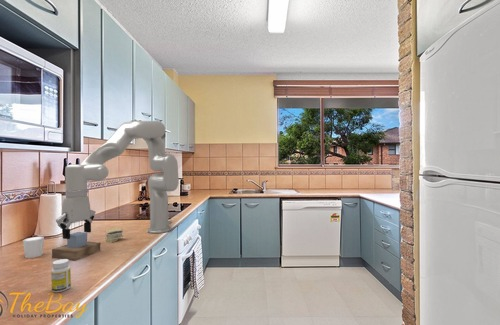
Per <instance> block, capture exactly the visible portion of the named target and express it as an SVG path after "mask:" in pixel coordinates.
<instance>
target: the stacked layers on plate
mask: <svg viewBox="0 0 500 325" xmlns="http://www.w3.org/2000/svg"><path fill="white" fill-rule="evenodd" d="M105 232H107V233H105V241H106V243H110V244H112V243H116V242H118V239H120V238H123V237H124V235H123V233H124V228H117V227H116V228H111V229H108V230H105Z"/></svg>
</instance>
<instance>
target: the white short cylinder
mask: <svg viewBox="0 0 500 325" xmlns="http://www.w3.org/2000/svg"><path fill="white" fill-rule="evenodd" d="M22 244H23V252H24V257H25V259H33V258H37V257H40V256H43V253H44V252H43V250H44V244H45V237H44V236H33V237H28V238H25V239H23V240H22Z"/></svg>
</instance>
